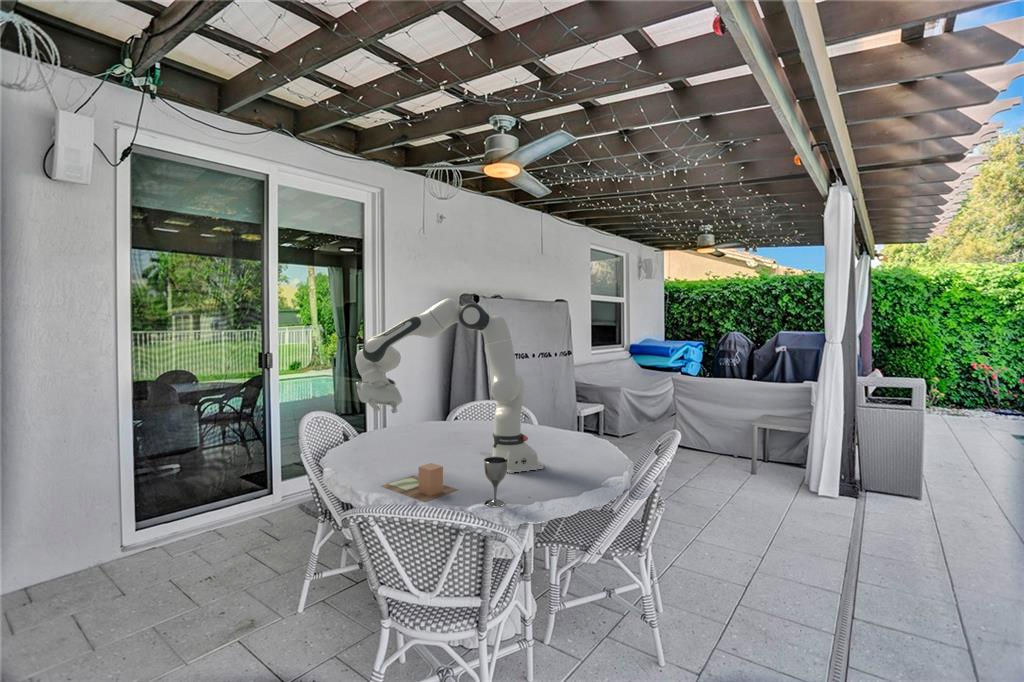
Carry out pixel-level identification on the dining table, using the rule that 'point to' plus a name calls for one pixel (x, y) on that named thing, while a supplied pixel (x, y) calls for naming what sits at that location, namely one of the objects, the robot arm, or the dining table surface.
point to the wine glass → (495, 475)
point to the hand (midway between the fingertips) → (386, 411)
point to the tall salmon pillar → (430, 479)
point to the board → (415, 489)
